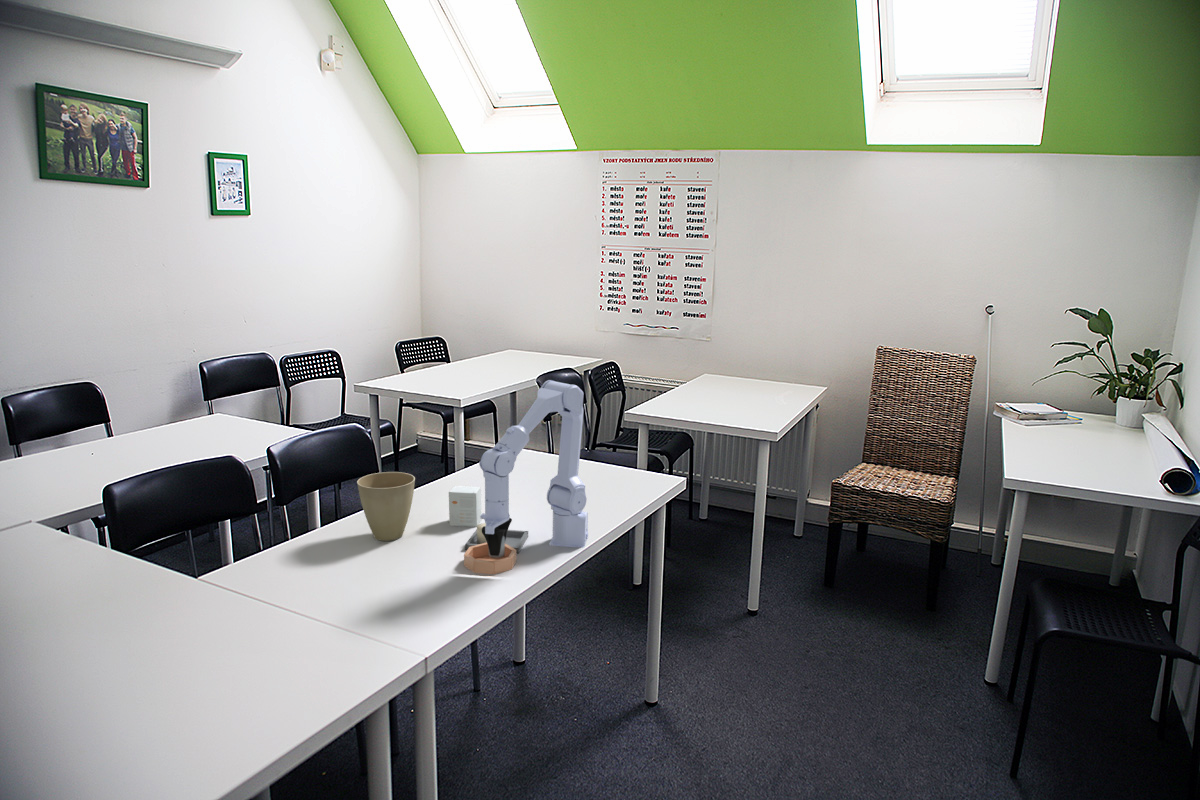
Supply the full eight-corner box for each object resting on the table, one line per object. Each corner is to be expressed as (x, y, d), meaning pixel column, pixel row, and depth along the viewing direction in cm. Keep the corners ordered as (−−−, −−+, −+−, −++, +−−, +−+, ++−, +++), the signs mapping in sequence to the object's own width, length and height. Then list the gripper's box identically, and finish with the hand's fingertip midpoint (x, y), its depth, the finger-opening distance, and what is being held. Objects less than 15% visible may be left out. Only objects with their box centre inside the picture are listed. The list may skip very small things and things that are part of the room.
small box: (482, 522, 223) (481, 486, 220) (477, 529, 217) (476, 493, 215) (454, 520, 223) (454, 485, 221) (448, 527, 218) (448, 491, 216)
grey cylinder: (506, 552, 193) (506, 535, 192) (502, 558, 189) (502, 541, 188) (490, 551, 193) (490, 533, 193) (486, 557, 190) (486, 540, 189)
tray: (528, 538, 211) (528, 531, 211) (518, 555, 200) (518, 548, 199) (477, 534, 213) (477, 527, 212) (465, 552, 201) (465, 544, 201)
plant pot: (423, 527, 217) (422, 472, 214) (405, 548, 203) (403, 489, 199) (372, 524, 219) (369, 470, 215) (350, 544, 204) (347, 486, 201)
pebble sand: (493, 539, 208) (493, 523, 207) (490, 545, 204) (489, 529, 203) (479, 538, 209) (479, 522, 208) (475, 544, 205) (475, 528, 204)
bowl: (519, 557, 199) (519, 544, 198) (508, 577, 187) (508, 563, 186) (473, 554, 200) (473, 541, 199) (459, 573, 188) (459, 560, 188)
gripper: (488, 488, 196) (488, 539, 199) (472, 507, 182) (473, 561, 184) (516, 489, 195) (515, 540, 198) (502, 509, 181) (502, 564, 184)
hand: (497, 551), depth 191 cm, fingers closed on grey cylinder, 4 cm apart
